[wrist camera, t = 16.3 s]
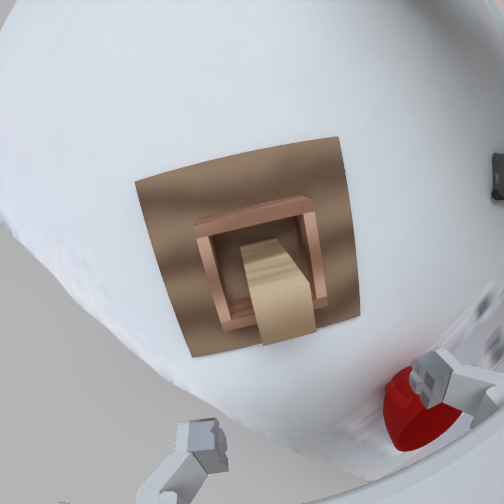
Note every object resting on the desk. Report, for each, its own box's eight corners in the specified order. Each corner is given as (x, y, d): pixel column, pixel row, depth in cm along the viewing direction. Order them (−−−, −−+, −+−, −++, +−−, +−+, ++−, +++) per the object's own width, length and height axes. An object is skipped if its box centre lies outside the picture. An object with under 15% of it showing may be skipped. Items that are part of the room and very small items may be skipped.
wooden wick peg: (239, 243, 28) (250, 297, 17) (274, 235, 28) (309, 283, 17) (247, 276, 29) (262, 345, 18) (281, 268, 29) (316, 331, 18)
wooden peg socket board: (137, 181, 26) (120, 184, 22) (334, 137, 27) (355, 132, 22) (192, 352, 32) (189, 379, 28) (357, 311, 33) (375, 332, 28)
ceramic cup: (400, 324, 34) (441, 366, 25) (446, 364, 39) (478, 397, 29) (336, 391, 37) (361, 442, 27) (394, 416, 41) (418, 455, 31)
